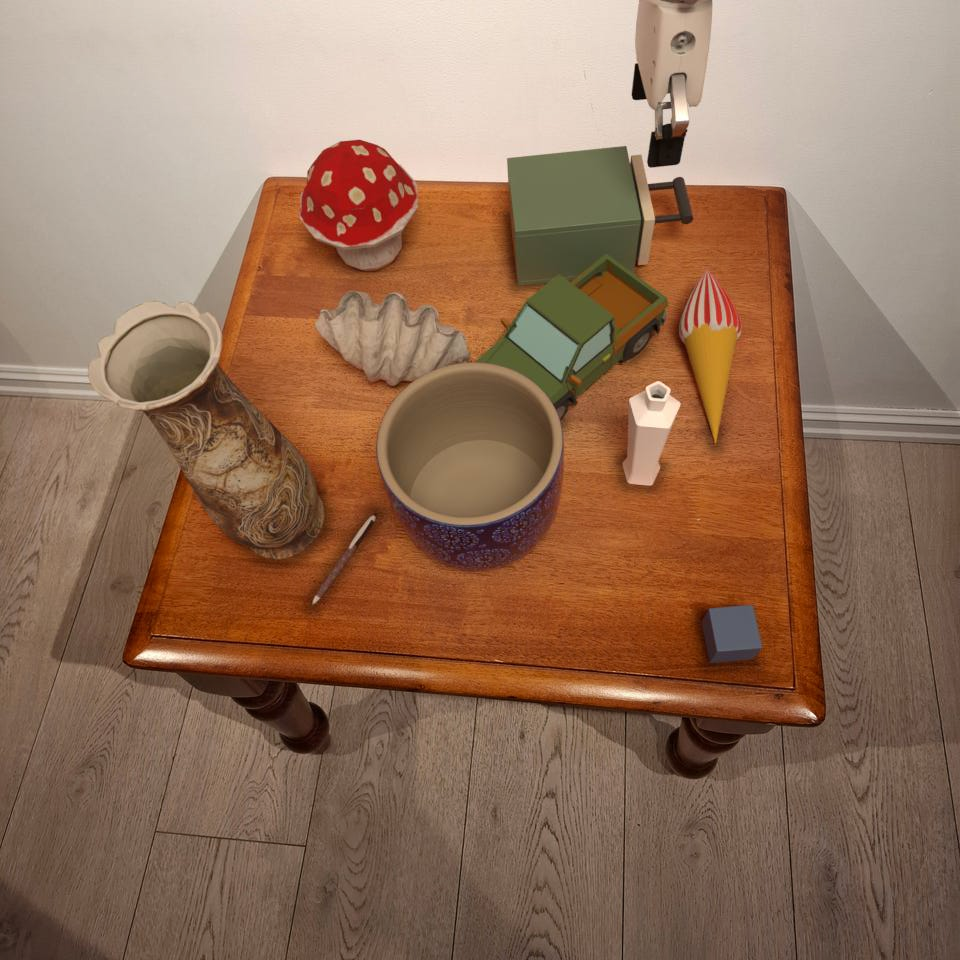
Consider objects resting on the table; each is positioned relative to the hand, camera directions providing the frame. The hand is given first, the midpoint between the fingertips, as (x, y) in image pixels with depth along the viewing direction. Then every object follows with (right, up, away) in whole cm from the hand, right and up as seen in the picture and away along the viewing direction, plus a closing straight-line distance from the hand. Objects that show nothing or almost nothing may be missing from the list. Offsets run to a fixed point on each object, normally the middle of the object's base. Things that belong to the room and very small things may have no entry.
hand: (654, 129), depth 86 cm
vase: (-39, -40, +1) cm, 56 cm away
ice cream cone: (+7, -24, +6) cm, 25 cm away
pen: (-31, -44, -1) cm, 54 cm away
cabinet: (-7, -8, +15) cm, 18 cm away
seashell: (-27, -23, +9) cm, 37 cm away
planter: (-18, -39, 0) cm, 43 cm away
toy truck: (-8, -23, +7) cm, 25 cm away
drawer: (-2, -7, +14) cm, 16 cm away
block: (+5, -51, -8) cm, 52 cm away
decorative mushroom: (-31, -8, +17) cm, 36 cm away
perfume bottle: (-1, -35, +1) cm, 35 cm away
